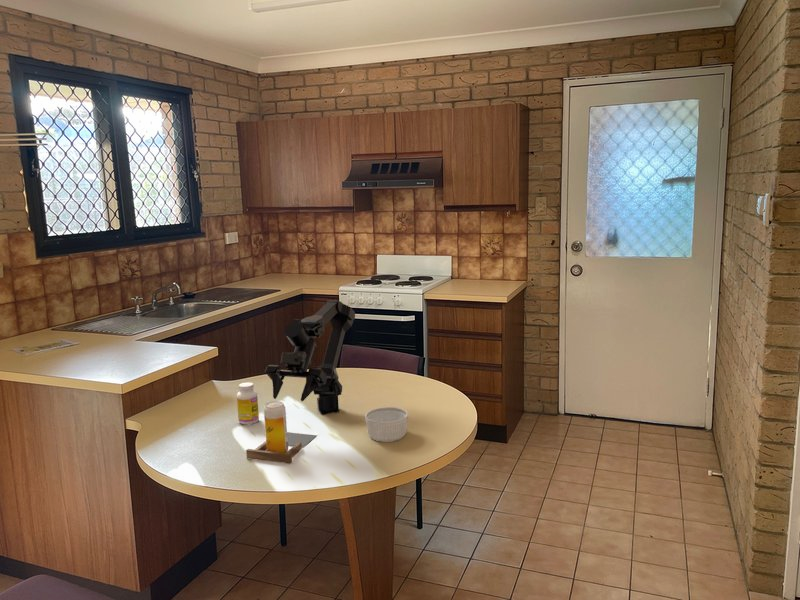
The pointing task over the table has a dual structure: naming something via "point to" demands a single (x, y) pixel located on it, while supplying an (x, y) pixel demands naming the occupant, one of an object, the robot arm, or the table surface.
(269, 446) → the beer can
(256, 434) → the table surface
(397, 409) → the ramekin
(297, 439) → the mat
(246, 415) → the supplement bottle
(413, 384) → the table surface
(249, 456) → the frame
